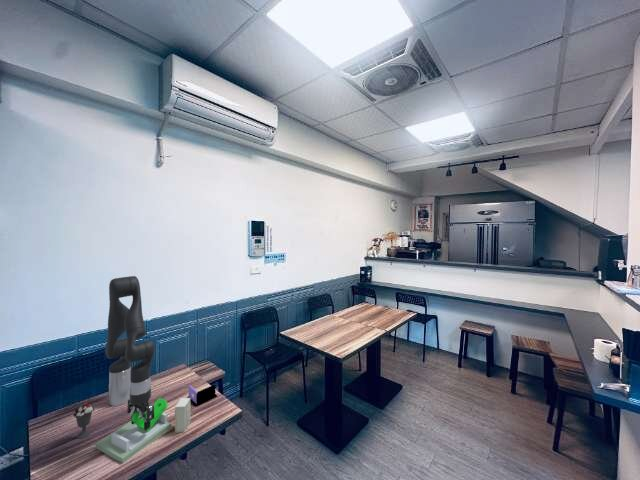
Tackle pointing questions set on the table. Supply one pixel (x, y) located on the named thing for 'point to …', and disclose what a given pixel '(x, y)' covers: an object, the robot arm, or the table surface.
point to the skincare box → (182, 415)
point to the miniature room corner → (201, 395)
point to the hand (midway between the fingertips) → (140, 426)
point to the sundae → (83, 419)
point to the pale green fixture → (131, 439)
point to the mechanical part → (158, 410)
